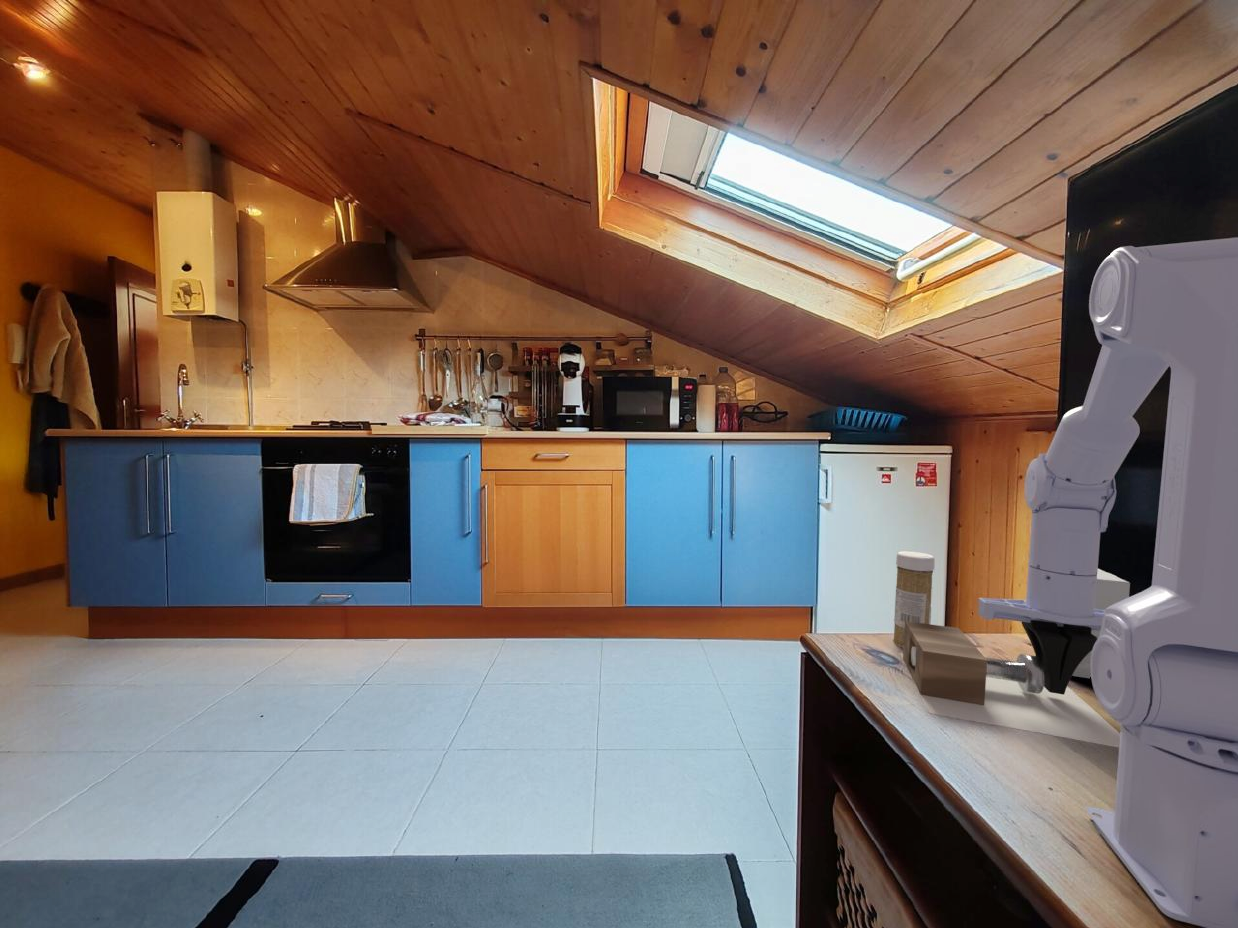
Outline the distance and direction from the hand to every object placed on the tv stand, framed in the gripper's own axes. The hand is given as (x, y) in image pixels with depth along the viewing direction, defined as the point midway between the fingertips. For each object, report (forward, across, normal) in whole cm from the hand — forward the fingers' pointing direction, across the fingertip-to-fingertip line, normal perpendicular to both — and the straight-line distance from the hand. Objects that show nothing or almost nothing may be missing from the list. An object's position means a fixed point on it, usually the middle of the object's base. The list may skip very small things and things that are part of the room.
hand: (1052, 689), depth 56 cm
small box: (+2, -7, -12) cm, 14 cm away
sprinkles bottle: (+2, +12, -11) cm, 16 cm away
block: (+1, +11, 0) cm, 11 cm away
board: (+2, +5, +1) cm, 6 cm away
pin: (+1, +8, 0) cm, 8 cm away
